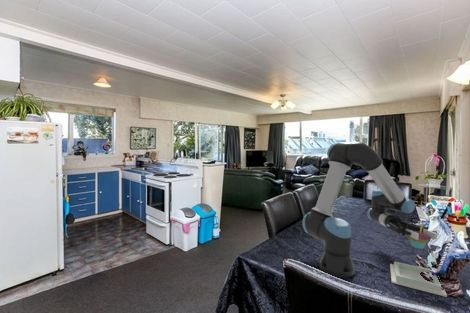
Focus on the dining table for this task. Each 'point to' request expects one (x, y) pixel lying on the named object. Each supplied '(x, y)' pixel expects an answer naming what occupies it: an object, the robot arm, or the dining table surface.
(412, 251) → the dining table surface
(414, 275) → the pastry tray
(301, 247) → the dining table surface
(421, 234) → the cupcake
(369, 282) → the dining table surface
